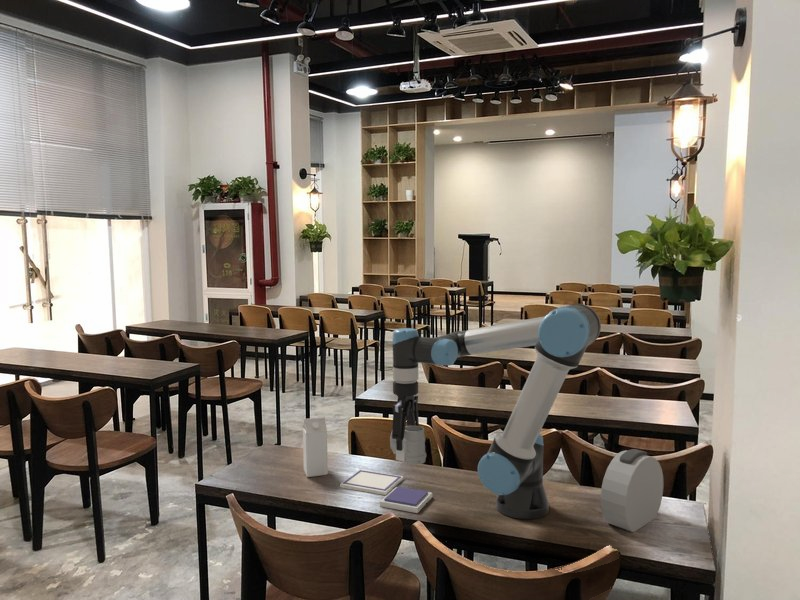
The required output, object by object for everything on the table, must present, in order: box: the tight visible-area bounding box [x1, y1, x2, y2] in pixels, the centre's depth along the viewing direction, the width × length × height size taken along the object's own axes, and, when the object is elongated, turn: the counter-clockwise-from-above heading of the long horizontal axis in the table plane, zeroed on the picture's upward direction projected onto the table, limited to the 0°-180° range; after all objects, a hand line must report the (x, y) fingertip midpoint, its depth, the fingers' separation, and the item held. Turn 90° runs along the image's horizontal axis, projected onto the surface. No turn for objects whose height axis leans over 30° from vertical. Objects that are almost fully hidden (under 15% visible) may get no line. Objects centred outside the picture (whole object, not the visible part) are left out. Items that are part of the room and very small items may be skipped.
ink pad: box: [379, 486, 433, 514], centre depth 184 cm, size 12×12×2 cm
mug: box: [389, 425, 427, 466], centre depth 183 cm, size 8×12×12 cm, turn 61°
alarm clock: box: [600, 448, 664, 533], centre depth 170 cm, size 21×8×20 cm, turn 131°
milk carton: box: [302, 416, 329, 478], centre depth 208 cm, size 7×7×19 cm
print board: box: [339, 469, 404, 496], centre depth 199 cm, size 16×14×1 cm
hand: (406, 455), depth 183 cm, fingers closed on mug, 7 cm apart
